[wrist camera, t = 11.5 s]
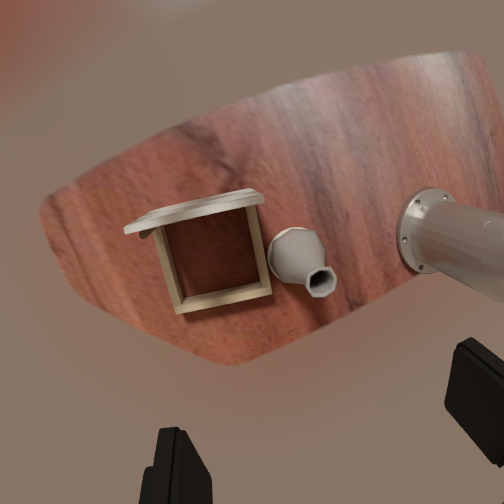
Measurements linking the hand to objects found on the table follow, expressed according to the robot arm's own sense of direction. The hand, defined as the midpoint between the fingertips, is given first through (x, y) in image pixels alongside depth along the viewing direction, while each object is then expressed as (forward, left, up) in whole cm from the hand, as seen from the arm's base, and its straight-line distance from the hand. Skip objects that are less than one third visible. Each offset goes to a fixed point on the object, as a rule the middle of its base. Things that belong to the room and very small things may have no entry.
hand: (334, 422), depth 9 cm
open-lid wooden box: (+5, +1, -31) cm, 31 cm away
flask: (-6, +4, -31) cm, 31 cm away
